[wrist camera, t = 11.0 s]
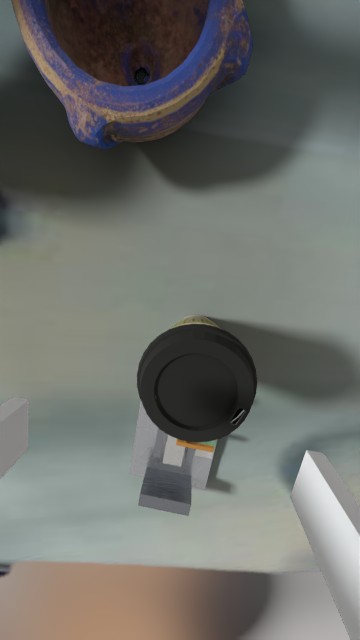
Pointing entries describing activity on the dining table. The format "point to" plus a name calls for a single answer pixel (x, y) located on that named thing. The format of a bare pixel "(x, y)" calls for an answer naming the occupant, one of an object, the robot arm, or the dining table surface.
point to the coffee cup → (196, 381)
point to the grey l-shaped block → (166, 469)
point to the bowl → (134, 60)
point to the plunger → (180, 450)
